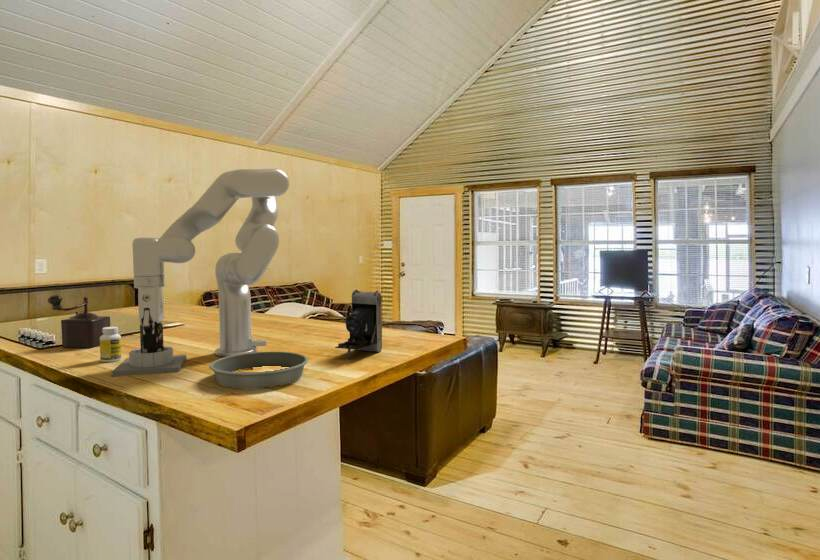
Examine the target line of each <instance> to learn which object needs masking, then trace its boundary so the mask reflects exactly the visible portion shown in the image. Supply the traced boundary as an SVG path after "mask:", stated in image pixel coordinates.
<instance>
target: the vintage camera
mask: <svg viewBox="0 0 820 560" xmlns="http://www.w3.org/2000/svg"><path fill="white" fill-rule="evenodd" d="M382 303H383V296H382V294H381V292H379V291H378V290H376V291H362V290H361V291H360V290H358V289H355V290H354V291H353V292H352V293H351V313H349V314H348V316H347V317H346V318H345V319H344V321H345V329H346V330H347V332H349V338H348V339H347V340H346V341H344V342H342V343H338V344H337V346H335V347H334V349H344V350H347V359H348V358H349V359H348V360H351V351H352V350H355V351H361V352H362V351H363V352H371V351H372V353H373V352H374V353H380V352H382V349H383V313H382V312H383V310H382V309H383V307H382V306H383V305H382Z"/></svg>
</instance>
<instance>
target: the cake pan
mask: <svg viewBox="0 0 820 560" xmlns="http://www.w3.org/2000/svg"><path fill="white" fill-rule="evenodd" d="M308 361H309V358H308V356H306V355H304V354H301V353H296V352H290V351H256V352H253V353H244V354H238V355H232V356H228V357H227V356H223V357H222V358H221V357H220V358H219V359H215V360H213V361H212V362H211V363H210V364H209V365H208V368H209V369H210V370H211V371H212V372H214V376H215V379H216V383H217V384H218V383H219V384H218V385H220V386H222V387H224V388H225V387H226V388H231V389H239V388H257V389H265V388H264V387H268V388H272V387H271V386H275V387H278V386H277V385H280V386H283V385H282V384H285V385H287V384H286V383H288V384H290V383H289V382H291V383H293V382H292V381H294V382H296V381H298V380H299V378H300V377H301V376H302V377H303V373H304V367H305V365H307V364H308ZM262 366H281V367H289V368H285V369H280V370H274V371H265V372H245V371H243V372H242V371H240V370H239V369H244V370H246V369H245V368H251V369H252V367H262ZM236 370H239V372H238V371H236ZM232 371H234V372H232ZM302 377H301V378H302ZM301 378H300V379H301ZM297 379H298V380H297ZM295 380H296V381H295Z"/></svg>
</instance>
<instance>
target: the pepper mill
mask: <svg viewBox="0 0 820 560" xmlns="http://www.w3.org/2000/svg"><path fill="white" fill-rule="evenodd" d="M62 301H63V297H62V296H61V295H60V294H59V295H58V294H54V295H51V296H49V297H48V298H47V303H48V304H49V305H51V306H52V308H51V310H53V311H58V312H59V311H62V312H69V311H74V310H76V309H80V308H82V307H83V309H84V311H82V312H78V311H75V315H72V316H70V317H69V318H67V319H61V321H60V324H61V326H60V327H61V347H62V348H65V349H80V350H81V349H83V348H84V349H93V348H94V347H95V348H98V347H100V337H101V336H102V335H103V332H102V328H105V327H111V317H110V316H107V315H102V316H101V315H97V314H96V313H92V312H89V311H88V310H89V309H88V304H89V298H88V296H84V297H83V302H82V303H80V304H77V305H74V306H72V307H66V308H65V307H63V305H62ZM95 348H94V349H95Z"/></svg>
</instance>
